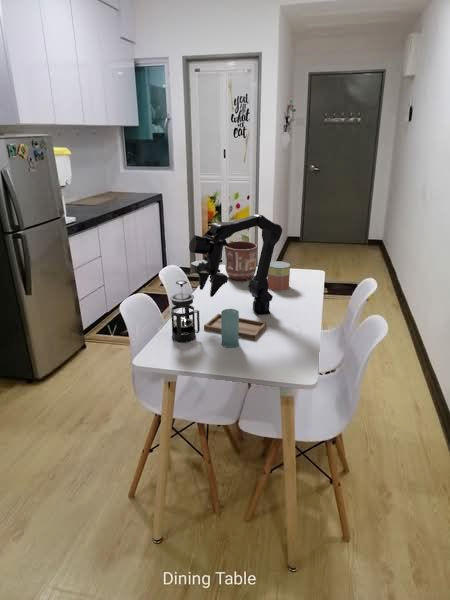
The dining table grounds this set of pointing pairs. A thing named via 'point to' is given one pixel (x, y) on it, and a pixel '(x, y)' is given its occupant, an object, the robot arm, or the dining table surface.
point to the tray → (246, 327)
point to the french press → (183, 323)
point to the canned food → (278, 276)
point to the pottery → (241, 260)
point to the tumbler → (230, 328)
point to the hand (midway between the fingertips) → (206, 293)
